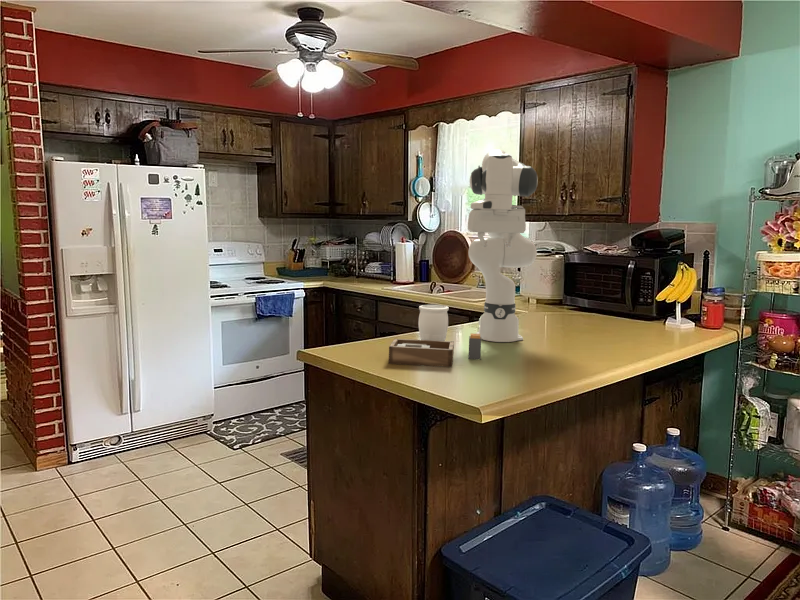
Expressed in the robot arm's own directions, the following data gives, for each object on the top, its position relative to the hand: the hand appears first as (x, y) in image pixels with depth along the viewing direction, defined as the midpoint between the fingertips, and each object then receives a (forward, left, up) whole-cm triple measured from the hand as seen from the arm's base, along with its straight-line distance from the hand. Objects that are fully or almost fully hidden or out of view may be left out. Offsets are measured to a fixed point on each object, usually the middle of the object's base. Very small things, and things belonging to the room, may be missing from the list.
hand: (496, 246), depth 200 cm
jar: (-10, -21, -38) cm, 44 cm away
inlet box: (+10, -22, -37) cm, 45 cm away
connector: (+2, -5, -37) cm, 38 cm away
